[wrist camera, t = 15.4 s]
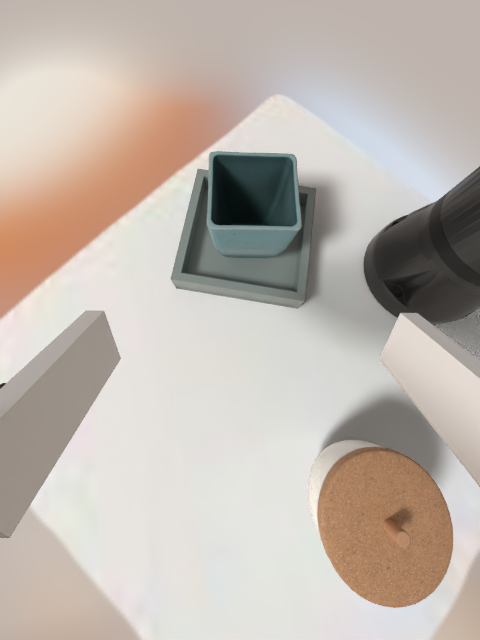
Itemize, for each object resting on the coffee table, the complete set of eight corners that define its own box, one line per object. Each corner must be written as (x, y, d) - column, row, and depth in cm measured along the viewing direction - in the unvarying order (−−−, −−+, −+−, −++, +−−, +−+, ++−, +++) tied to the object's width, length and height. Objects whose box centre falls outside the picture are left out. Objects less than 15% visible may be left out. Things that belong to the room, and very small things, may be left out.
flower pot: (214, 211, 31) (208, 149, 22) (278, 213, 32) (296, 152, 23) (213, 270, 29) (206, 227, 21) (281, 271, 30) (302, 230, 21)
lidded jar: (281, 513, 25) (312, 597, 15) (309, 413, 27) (351, 435, 18) (376, 552, 24) (466, 662, 15) (396, 447, 26) (485, 488, 17)
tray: (308, 204, 33) (315, 188, 30) (297, 308, 30) (304, 301, 27) (200, 186, 33) (197, 168, 30) (176, 288, 30) (170, 279, 27)
